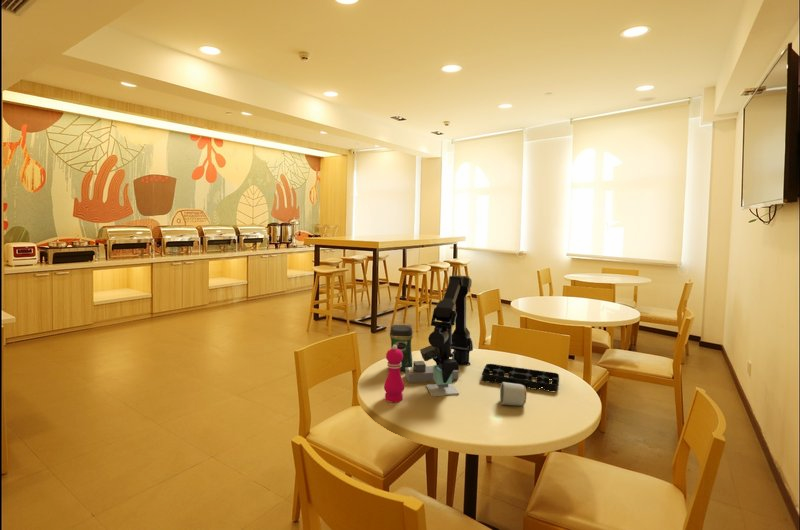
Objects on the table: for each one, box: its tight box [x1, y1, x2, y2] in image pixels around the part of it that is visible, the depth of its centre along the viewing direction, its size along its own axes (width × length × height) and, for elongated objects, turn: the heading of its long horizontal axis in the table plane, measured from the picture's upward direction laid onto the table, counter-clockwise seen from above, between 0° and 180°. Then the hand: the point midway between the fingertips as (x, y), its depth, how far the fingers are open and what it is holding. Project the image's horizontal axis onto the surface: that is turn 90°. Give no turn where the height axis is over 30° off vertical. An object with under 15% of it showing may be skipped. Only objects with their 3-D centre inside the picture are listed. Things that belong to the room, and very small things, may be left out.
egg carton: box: [481, 363, 560, 392], centre depth 180 cm, size 18×30×4 cm, turn 82°
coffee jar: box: [389, 324, 414, 372], centre depth 191 cm, size 10×8×19 cm
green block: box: [432, 364, 453, 388], centre depth 170 cm, size 6×6×7 cm
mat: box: [425, 383, 460, 397], centre depth 171 cm, size 10×9×1 cm
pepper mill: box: [383, 345, 405, 403], centre depth 162 cm, size 7×7×20 cm
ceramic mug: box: [499, 382, 527, 407], centre depth 162 cm, size 11×8×8 cm
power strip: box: [404, 360, 459, 384], centre depth 182 cm, size 20×7×6 cm, turn 101°
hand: (442, 379), depth 170 cm, fingers closed on green block, 5 cm apart
